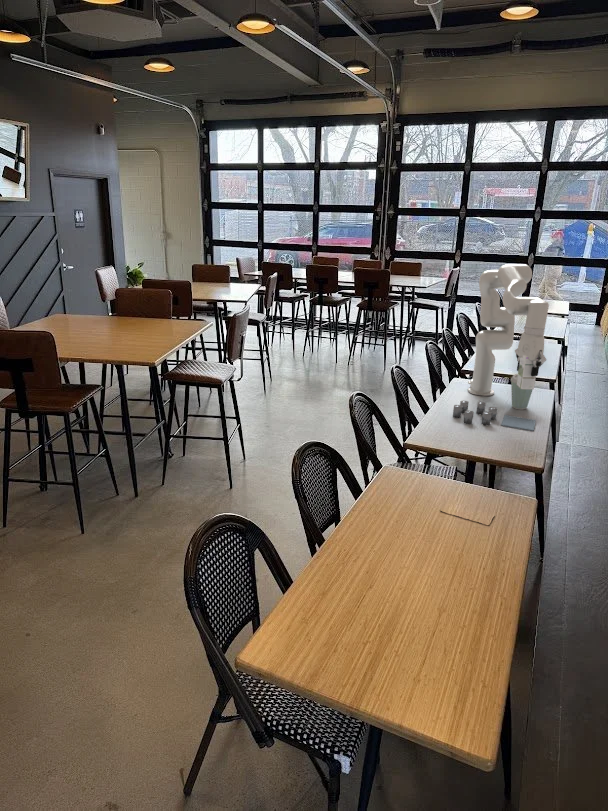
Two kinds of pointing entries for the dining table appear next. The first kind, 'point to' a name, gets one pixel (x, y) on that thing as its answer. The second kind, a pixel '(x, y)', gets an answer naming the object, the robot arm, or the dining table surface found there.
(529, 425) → the slate mat
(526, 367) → the syrup box
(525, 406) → the disposable coffee cup
